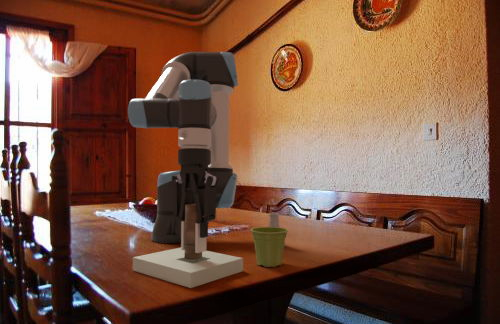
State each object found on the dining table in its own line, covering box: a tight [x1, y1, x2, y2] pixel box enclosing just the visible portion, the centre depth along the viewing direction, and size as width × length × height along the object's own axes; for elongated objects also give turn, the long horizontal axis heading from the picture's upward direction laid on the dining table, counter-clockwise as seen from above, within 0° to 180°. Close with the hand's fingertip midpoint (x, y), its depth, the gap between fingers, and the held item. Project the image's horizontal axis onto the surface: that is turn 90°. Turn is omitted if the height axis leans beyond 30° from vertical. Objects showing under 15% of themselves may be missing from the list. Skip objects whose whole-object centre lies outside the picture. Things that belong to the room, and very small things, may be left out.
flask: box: [268, 212, 286, 247], centre depth 113 cm, size 7×7×10 cm
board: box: [132, 247, 244, 289], centre depth 85 cm, size 20×16×3 cm
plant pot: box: [250, 226, 289, 268], centre depth 91 cm, size 9×9×9 cm
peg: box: [184, 204, 202, 260], centre depth 84 cm, size 4×4×12 cm
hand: (193, 250), depth 83 cm, fingers closed on peg, 4 cm apart
